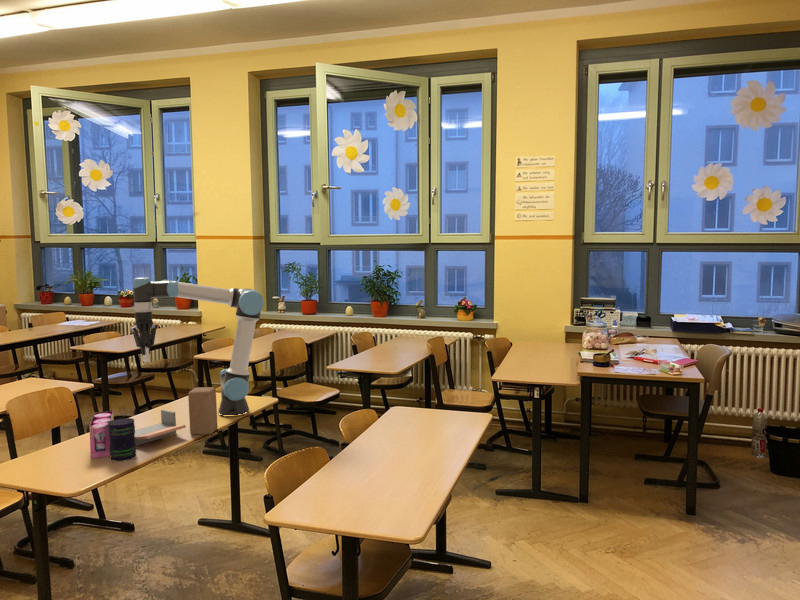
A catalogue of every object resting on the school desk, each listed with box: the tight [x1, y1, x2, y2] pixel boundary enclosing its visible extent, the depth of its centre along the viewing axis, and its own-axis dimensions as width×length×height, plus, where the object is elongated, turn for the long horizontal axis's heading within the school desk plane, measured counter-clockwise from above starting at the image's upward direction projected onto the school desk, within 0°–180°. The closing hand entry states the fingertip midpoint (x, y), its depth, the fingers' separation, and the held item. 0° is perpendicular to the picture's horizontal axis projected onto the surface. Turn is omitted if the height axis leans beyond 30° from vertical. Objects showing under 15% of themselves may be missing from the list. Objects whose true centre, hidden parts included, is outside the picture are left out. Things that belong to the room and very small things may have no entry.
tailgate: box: [135, 424, 186, 440], centre depth 271 cm, size 19×1×9 cm
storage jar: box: [108, 417, 137, 462], centre depth 252 cm, size 10×10×15 cm
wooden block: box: [187, 386, 218, 436], centre depth 284 cm, size 10×10×20 cm
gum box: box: [88, 410, 115, 459], centre depth 262 cm, size 24×8×14 cm, turn 21°
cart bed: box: [134, 409, 177, 447], centre depth 276 cm, size 22×9×10 cm, turn 146°
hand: (146, 361), depth 287 cm, fingers closed
